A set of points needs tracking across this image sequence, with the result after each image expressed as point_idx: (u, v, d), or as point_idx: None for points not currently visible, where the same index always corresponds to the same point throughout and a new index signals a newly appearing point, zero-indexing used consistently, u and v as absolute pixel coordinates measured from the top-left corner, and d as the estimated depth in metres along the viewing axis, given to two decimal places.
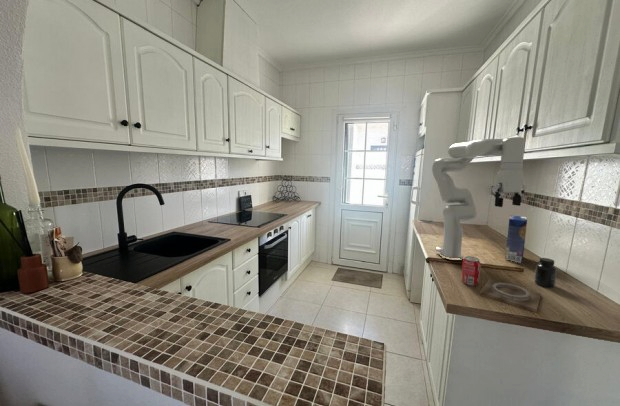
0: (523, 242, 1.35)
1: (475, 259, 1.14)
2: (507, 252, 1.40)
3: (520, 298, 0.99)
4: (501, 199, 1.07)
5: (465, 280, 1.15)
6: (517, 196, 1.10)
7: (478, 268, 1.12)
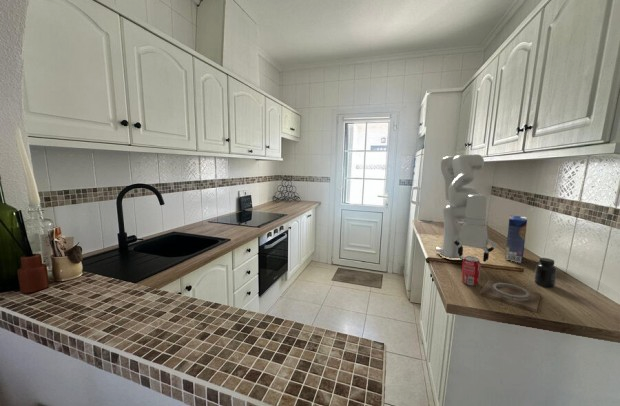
0: (523, 242, 1.35)
1: (475, 259, 1.14)
2: (507, 252, 1.40)
3: (520, 298, 0.99)
4: None
5: (465, 280, 1.15)
6: (462, 247, 1.17)
7: (478, 268, 1.12)
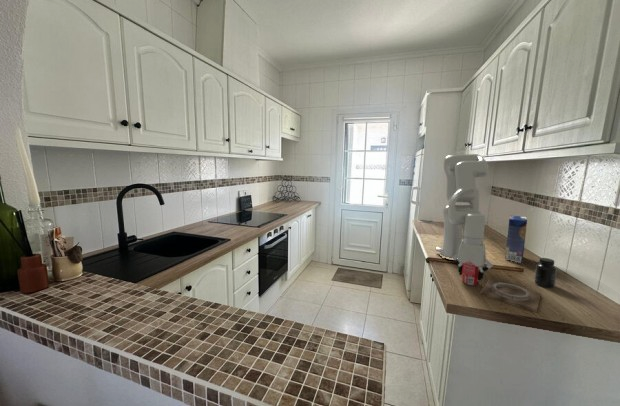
0: (523, 242, 1.35)
1: None
2: (507, 252, 1.40)
3: (520, 298, 0.99)
4: None
5: (465, 280, 1.15)
6: None
7: (478, 268, 1.12)
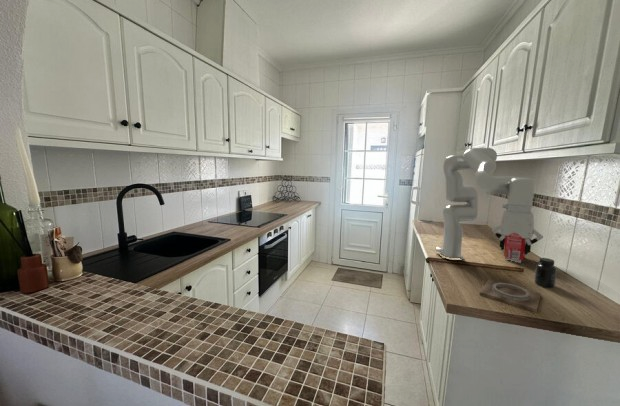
0: None
1: None
2: None
3: (520, 298, 0.99)
4: None
5: (509, 255, 1.01)
6: (504, 239, 1.04)
7: (525, 240, 0.98)
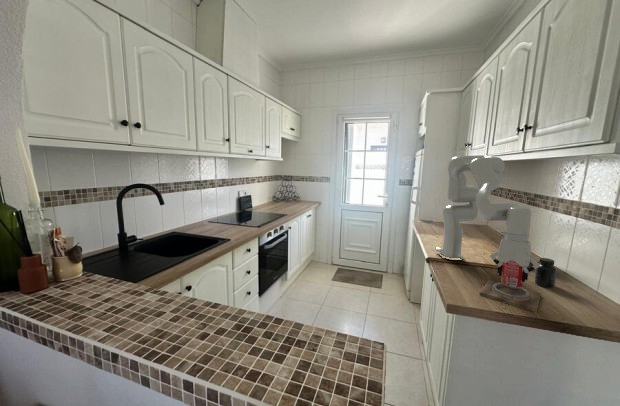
0: None
1: None
2: None
3: (520, 298, 0.99)
4: None
5: (507, 282, 1.02)
6: None
7: (522, 268, 1.00)
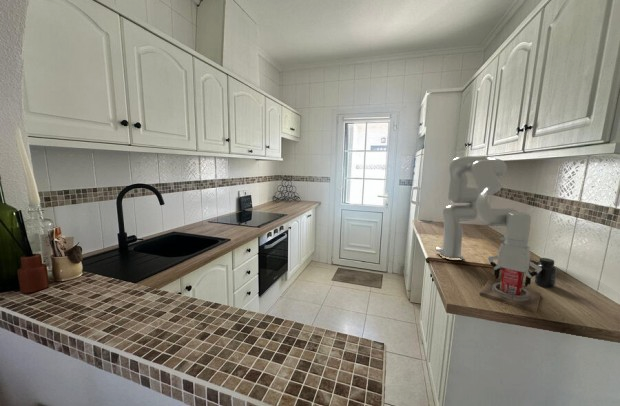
0: None
1: None
2: None
3: (520, 298, 0.99)
4: None
5: (506, 290, 1.03)
6: (499, 269, 1.07)
7: (522, 277, 1.00)
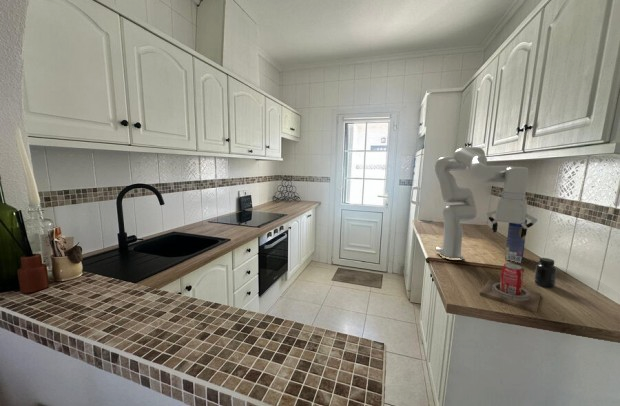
0: (523, 242, 1.35)
1: (517, 266, 1.03)
2: (507, 252, 1.40)
3: (520, 298, 0.99)
4: None
5: (505, 290, 1.03)
6: (496, 223, 1.12)
7: (521, 277, 1.00)
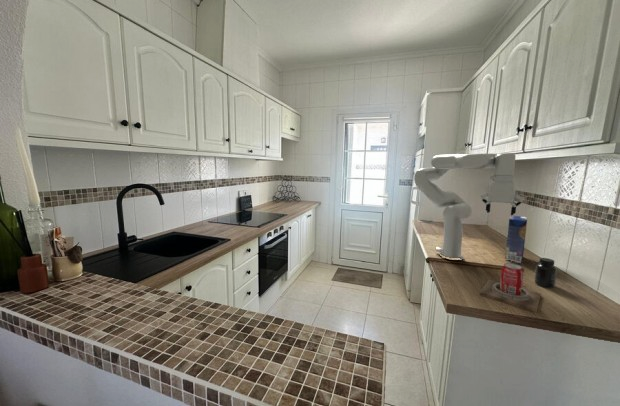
0: (523, 242, 1.35)
1: (517, 266, 1.03)
2: (507, 252, 1.40)
3: (520, 298, 0.99)
4: None
5: (505, 290, 1.03)
6: (489, 204, 1.27)
7: (521, 276, 1.01)
